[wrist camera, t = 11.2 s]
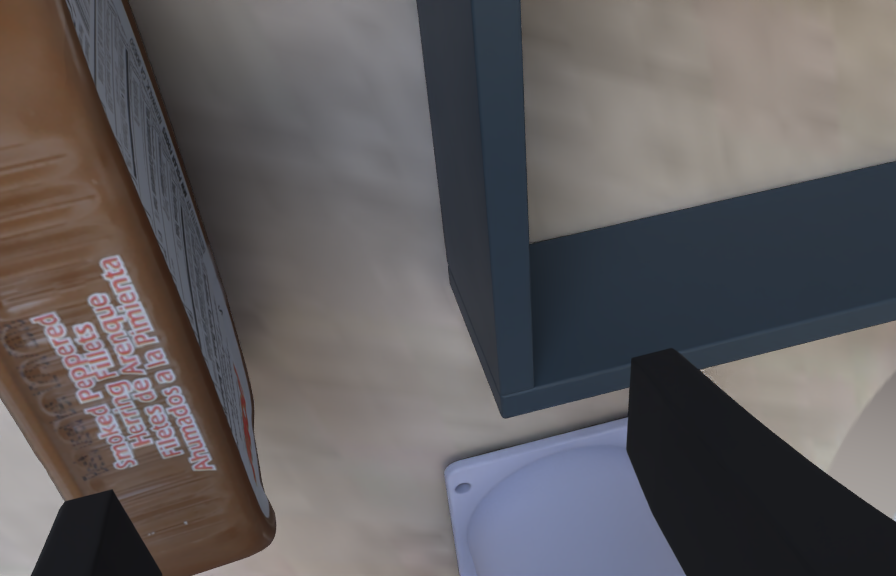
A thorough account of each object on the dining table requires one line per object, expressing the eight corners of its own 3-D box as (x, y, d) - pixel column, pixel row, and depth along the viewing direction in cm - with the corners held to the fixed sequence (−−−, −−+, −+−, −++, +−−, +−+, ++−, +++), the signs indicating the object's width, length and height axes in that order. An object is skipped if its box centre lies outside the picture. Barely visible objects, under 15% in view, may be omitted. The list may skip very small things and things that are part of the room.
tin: (-159, -304, 13) (-475, -185, 7) (55, -331, 13) (-52, -244, 7) (152, 378, 23) (143, 687, 16) (270, 351, 23) (306, 642, 17)
